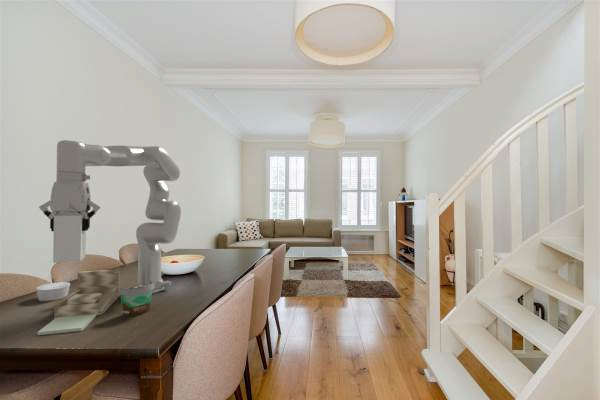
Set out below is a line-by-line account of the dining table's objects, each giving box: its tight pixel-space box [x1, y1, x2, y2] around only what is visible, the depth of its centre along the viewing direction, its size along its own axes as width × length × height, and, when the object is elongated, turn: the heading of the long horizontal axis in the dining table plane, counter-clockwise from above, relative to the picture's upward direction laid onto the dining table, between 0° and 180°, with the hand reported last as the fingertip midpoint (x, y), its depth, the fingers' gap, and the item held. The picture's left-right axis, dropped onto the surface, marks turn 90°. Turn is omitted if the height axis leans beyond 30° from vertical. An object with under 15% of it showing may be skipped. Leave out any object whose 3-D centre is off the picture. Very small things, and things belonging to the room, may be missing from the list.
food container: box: [118, 281, 154, 317], centre depth 107 cm, size 12×6×10 cm, turn 148°
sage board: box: [37, 314, 97, 336], centre depth 95 cm, size 12×12×1 cm
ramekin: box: [35, 281, 71, 302], centre depth 122 cm, size 11×11×5 cm
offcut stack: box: [66, 293, 102, 306], centre depth 107 cm, size 10×7×6 cm, turn 107°
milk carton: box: [52, 204, 86, 264], centre depth 95 cm, size 7×7×19 cm
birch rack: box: [53, 269, 120, 320], centre depth 111 cm, size 14×19×12 cm
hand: (70, 230), depth 95 cm, fingers closed on milk carton, 7 cm apart
